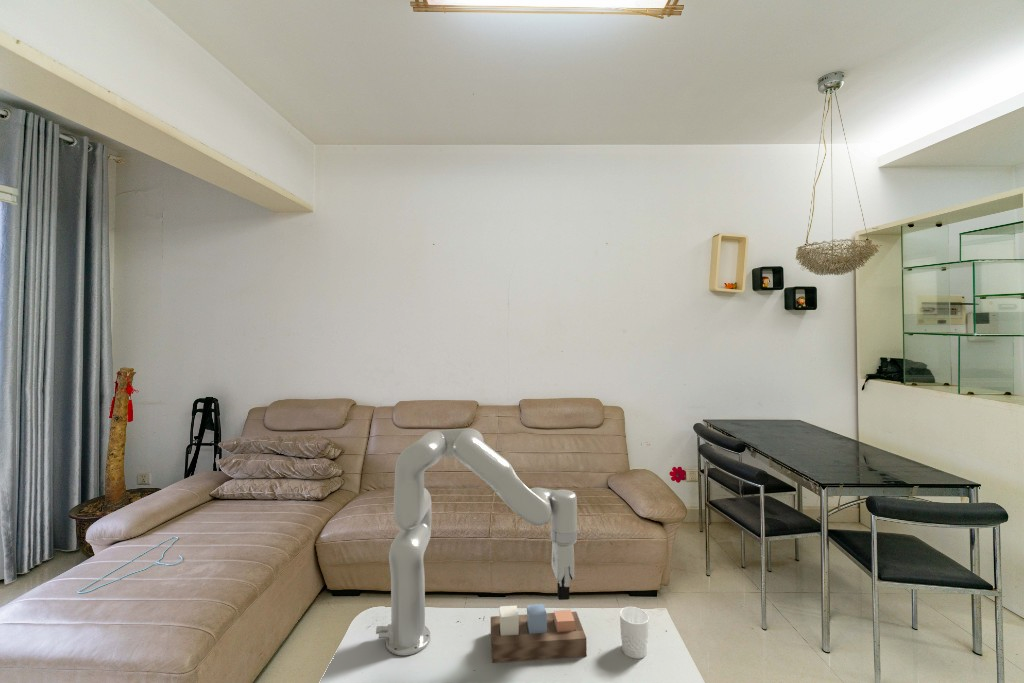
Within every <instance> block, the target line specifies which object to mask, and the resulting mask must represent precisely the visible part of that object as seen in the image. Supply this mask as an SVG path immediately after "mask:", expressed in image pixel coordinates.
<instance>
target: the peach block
mask: <svg viewBox="0 0 1024 683" xmlns="http://www.w3.org/2000/svg"><path fill="white" fill-rule="evenodd" d="M572 612H573V611H572V610H571V609H562V610H553V613H554V626H555V629H556V632H569V631H575V620H574V618H573V615H572Z"/></svg>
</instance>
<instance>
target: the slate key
mask: <svg viewBox="0 0 1024 683" xmlns="http://www.w3.org/2000/svg"><path fill="white" fill-rule="evenodd" d="M546 613H547V609H546V607H545V604H544V603H535V604H534V603H533V604H527V605H526V614H527V628H528V633H529V634H538V633H547V614H546Z"/></svg>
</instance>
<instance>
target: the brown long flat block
mask: <svg viewBox="0 0 1024 683" xmlns="http://www.w3.org/2000/svg"><path fill="white" fill-rule="evenodd" d="M571 612H572V615H573V618H574V620H575V631H569V632H556V629H555V626H554V612H548V613H547V612H546V614H547V633H538V634H529V633H528V628H527V613H526V614H518V616H519V635H507V636H501V635H500V615H497V616H495V615H494V616H490V645H491V662H492V664H493V663H509V662H512V663H513V662H525V661H537V660H538V661H539V660H540V661H541V660H553V659H566V658H580V657H581V658H582V657H587V643H588V642H587V636H586V633H585V630H584V629H583V625H582V623H581V620H580V618H579V615H578V613H577V611H571Z"/></svg>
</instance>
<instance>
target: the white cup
mask: <svg viewBox="0 0 1024 683" xmlns="http://www.w3.org/2000/svg"><path fill="white" fill-rule="evenodd" d="M619 621H620V622H619V623H620V624H619V625H620V639H621V649H622V651H623V653H624V654H625V656H627V657H629V658H632V659H642V658H645V657H646V656H647V654H648V642H649V628H650V627H649V626H650V624H649V623H650V616H649V614H648V613H647V612H646V611H645V610H644V609H642V608H639V607H636V606H626V607H625V606H624V607H622V609H620V611H619Z"/></svg>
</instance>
